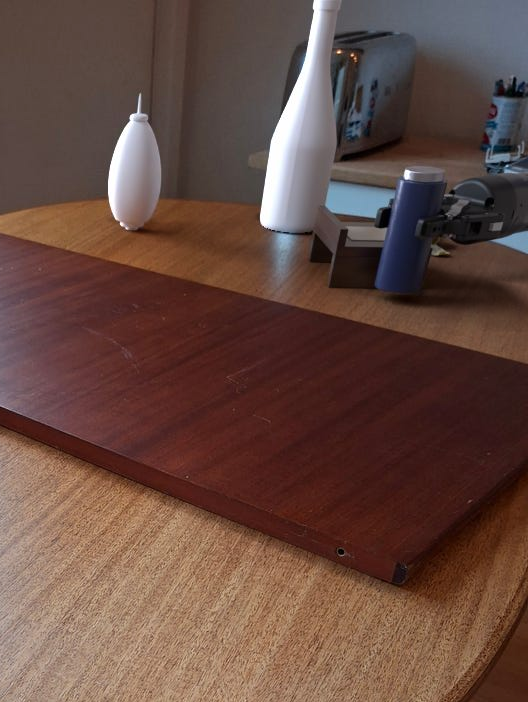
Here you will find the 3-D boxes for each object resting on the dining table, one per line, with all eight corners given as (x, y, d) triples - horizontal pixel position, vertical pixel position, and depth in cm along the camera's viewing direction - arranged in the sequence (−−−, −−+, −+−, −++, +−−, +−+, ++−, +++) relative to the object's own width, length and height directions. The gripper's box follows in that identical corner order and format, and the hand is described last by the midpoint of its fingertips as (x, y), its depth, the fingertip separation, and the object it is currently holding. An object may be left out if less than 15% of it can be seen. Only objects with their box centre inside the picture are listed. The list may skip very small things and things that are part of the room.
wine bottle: (263, 217, 142) (298, -12, 124) (323, 223, 140) (367, -11, 121) (254, 231, 135) (289, -10, 117) (317, 237, 133) (363, -9, 114)
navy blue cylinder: (412, 281, 110) (441, 165, 102) (425, 293, 106) (457, 174, 98) (369, 280, 110) (394, 164, 102) (381, 293, 106) (408, 173, 98)
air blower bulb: (162, 225, 137) (174, 91, 126) (149, 237, 132) (160, 97, 121) (115, 220, 140) (122, 88, 128) (99, 232, 134) (106, 94, 123)
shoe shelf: (393, 261, 123) (406, 207, 119) (422, 289, 113) (437, 231, 108) (307, 259, 123) (317, 205, 119) (328, 287, 113) (340, 229, 109)
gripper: (451, 165, 112) (358, 177, 105) (553, 185, 102) (458, 200, 95) (435, 228, 117) (345, 244, 110) (531, 253, 107) (439, 272, 100)
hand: (398, 223), depth 103 cm, fingers closed on navy blue cylinder, 5 cm apart
